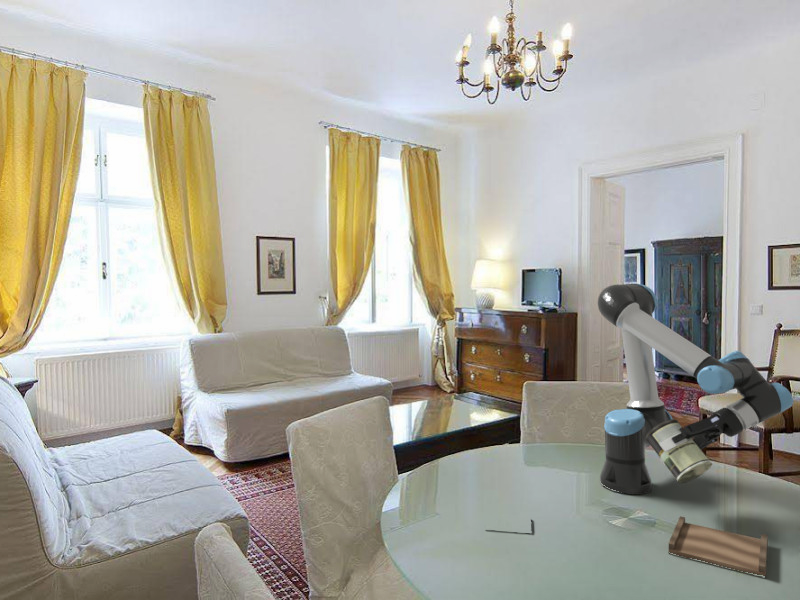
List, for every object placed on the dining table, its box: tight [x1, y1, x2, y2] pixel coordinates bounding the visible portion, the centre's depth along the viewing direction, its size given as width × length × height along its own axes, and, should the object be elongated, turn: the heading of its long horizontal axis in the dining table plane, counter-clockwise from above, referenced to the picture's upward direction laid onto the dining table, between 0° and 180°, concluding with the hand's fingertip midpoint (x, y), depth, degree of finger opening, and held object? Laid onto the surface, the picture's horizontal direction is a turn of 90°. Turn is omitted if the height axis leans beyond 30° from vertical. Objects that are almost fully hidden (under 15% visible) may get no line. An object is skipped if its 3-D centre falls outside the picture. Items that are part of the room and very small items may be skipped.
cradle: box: [668, 515, 768, 576], centre depth 125 cm, size 17×19×3 cm
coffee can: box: [646, 418, 713, 484], centre depth 145 cm, size 10×10×14 cm
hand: (661, 454), depth 146 cm, fingers closed on coffee can, 10 cm apart
